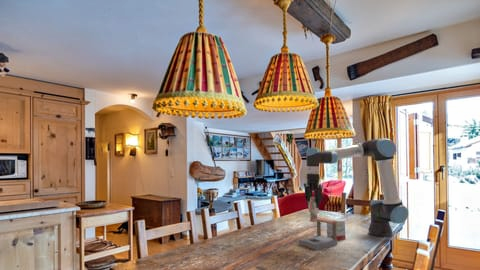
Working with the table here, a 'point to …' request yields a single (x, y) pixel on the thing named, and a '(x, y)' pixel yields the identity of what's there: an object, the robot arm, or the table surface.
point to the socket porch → (320, 241)
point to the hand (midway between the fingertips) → (313, 212)
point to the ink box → (337, 229)
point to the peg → (312, 210)
